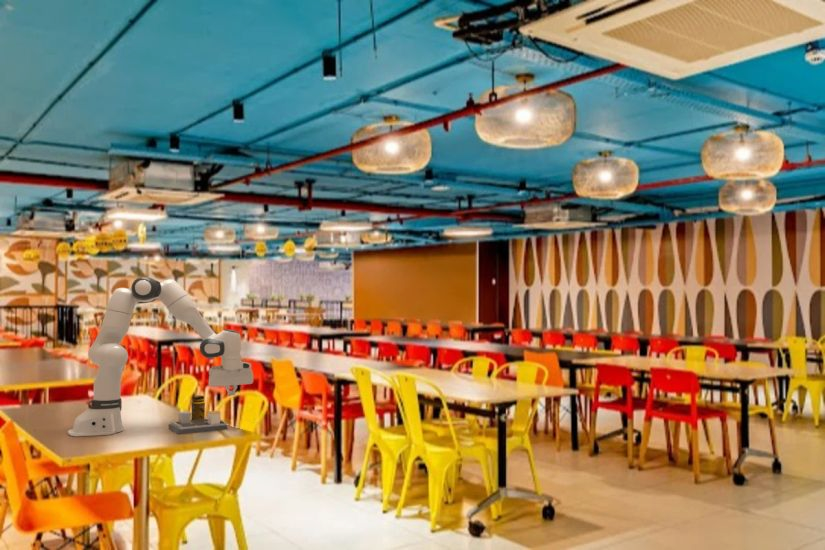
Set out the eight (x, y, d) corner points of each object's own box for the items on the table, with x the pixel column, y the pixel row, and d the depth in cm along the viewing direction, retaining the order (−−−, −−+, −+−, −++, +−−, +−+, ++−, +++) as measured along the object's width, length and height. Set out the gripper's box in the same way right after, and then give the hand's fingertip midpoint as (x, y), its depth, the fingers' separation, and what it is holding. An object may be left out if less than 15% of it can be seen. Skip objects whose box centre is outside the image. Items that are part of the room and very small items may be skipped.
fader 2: (211, 425, 329) (211, 413, 330) (207, 423, 333) (208, 411, 334) (220, 424, 332) (220, 412, 332) (216, 422, 336) (216, 410, 336)
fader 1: (181, 424, 330) (181, 413, 330) (178, 422, 334) (178, 411, 334) (190, 423, 332) (190, 412, 332) (187, 422, 336) (187, 411, 336)
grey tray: (178, 434, 320) (178, 426, 320) (168, 428, 332) (168, 420, 333) (227, 429, 332) (227, 421, 332) (216, 424, 345) (216, 416, 345)
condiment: (207, 421, 350) (207, 396, 350) (189, 423, 346) (189, 397, 346) (202, 419, 356) (202, 394, 356) (184, 421, 352) (185, 395, 352)
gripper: (211, 367, 329) (211, 398, 329) (254, 364, 340) (254, 394, 340) (206, 365, 334) (206, 396, 334) (249, 362, 346) (249, 392, 345)
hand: (231, 395), depth 337 cm, fingers closed
